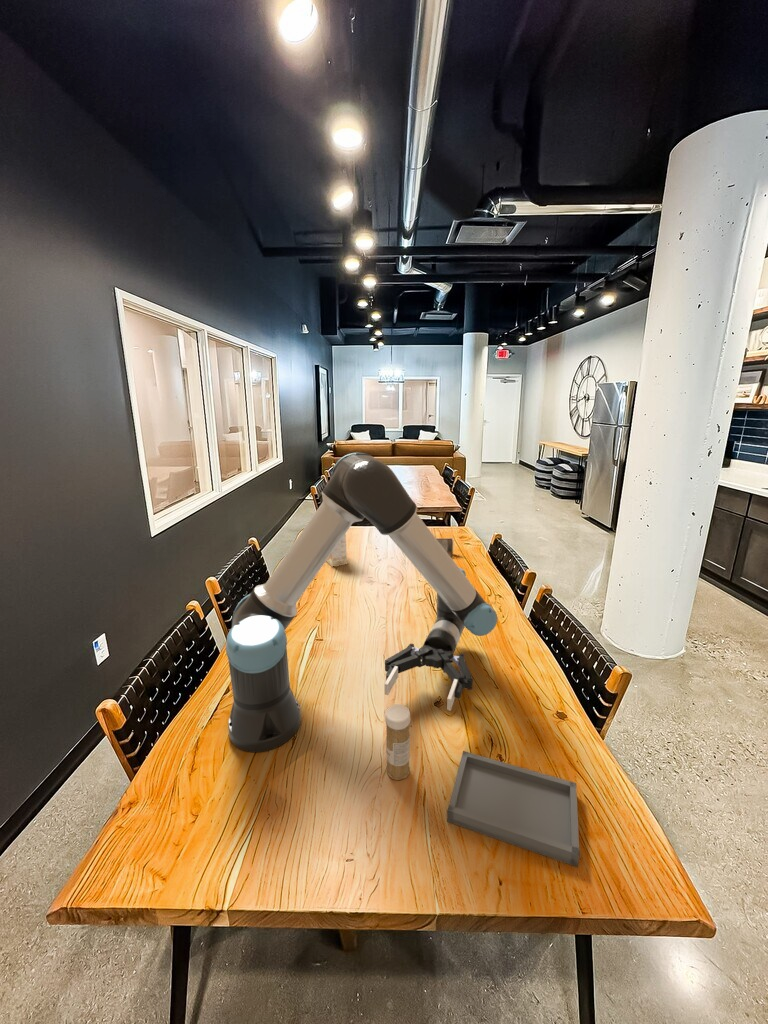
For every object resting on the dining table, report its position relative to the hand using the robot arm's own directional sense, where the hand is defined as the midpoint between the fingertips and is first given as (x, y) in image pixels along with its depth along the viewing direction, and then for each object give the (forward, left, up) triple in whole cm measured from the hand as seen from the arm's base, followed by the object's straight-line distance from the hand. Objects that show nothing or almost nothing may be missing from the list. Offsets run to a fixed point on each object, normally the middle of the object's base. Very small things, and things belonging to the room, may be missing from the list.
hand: (416, 697), depth 89 cm
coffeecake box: (-62, +80, -9) cm, 102 cm away
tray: (+21, -11, -8) cm, 25 cm away
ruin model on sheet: (-21, +101, -9) cm, 103 cm away
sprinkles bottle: (0, -11, -9) cm, 14 cm away
